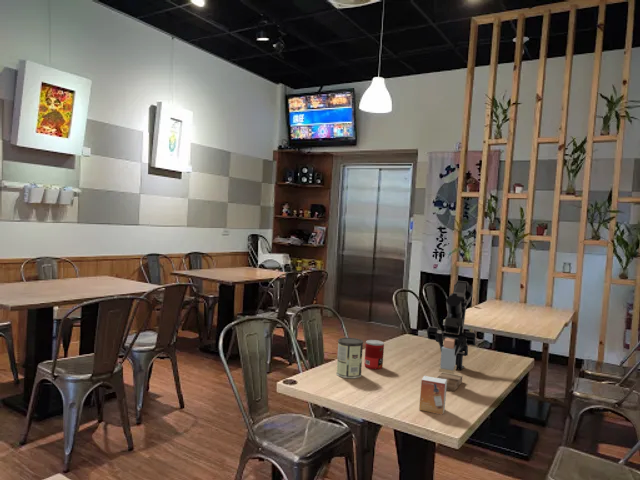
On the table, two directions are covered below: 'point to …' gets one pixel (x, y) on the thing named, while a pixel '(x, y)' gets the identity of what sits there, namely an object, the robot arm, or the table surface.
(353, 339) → the coffee can
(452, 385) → the dock
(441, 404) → the small box
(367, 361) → the canned food
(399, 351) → the table surface
